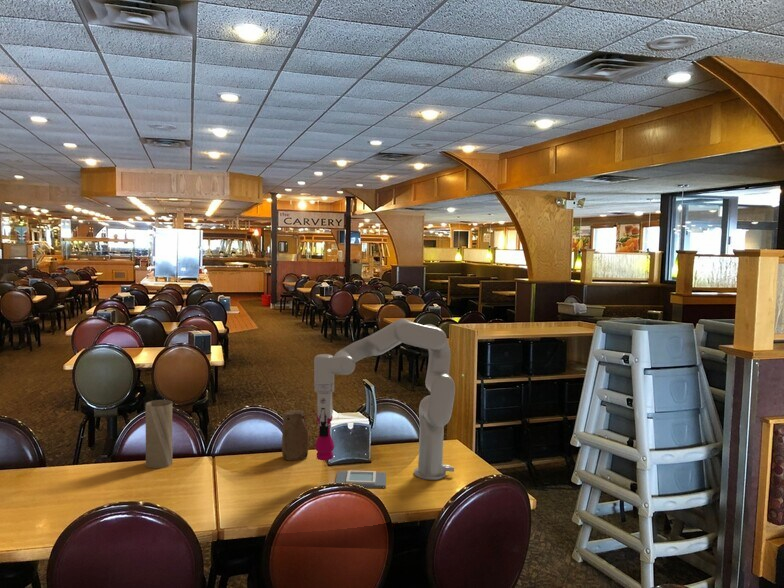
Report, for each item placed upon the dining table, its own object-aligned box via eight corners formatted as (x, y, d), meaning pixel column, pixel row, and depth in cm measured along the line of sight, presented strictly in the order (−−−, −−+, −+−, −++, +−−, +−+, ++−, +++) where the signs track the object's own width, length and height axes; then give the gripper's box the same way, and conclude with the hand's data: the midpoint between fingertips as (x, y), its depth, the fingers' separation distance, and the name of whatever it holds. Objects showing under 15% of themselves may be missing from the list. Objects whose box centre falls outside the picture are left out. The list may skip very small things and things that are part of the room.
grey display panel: (386, 474, 244) (386, 470, 244) (385, 488, 231) (385, 483, 231) (337, 473, 244) (338, 469, 244) (334, 486, 231) (335, 482, 231)
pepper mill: (319, 462, 232) (318, 410, 230) (312, 456, 238) (312, 405, 236) (337, 459, 235) (336, 407, 233) (330, 453, 242) (329, 403, 240)
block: (282, 461, 255) (283, 414, 254) (281, 455, 263) (282, 409, 261) (308, 460, 258) (309, 413, 256) (307, 454, 265) (308, 408, 263)
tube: (141, 463, 248) (140, 402, 246) (164, 457, 256) (164, 398, 253) (153, 470, 242) (153, 407, 239) (177, 464, 249) (177, 403, 247)
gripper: (332, 392, 226) (332, 441, 227) (336, 381, 243) (336, 427, 244) (311, 392, 226) (312, 441, 227) (317, 381, 243) (317, 427, 244)
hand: (324, 433), depth 236 cm, fingers closed on pepper mill, 5 cm apart
